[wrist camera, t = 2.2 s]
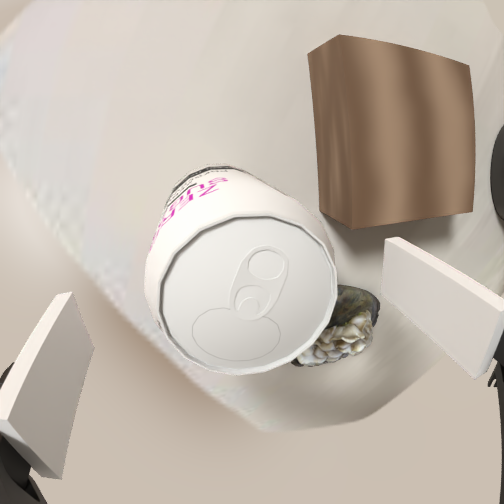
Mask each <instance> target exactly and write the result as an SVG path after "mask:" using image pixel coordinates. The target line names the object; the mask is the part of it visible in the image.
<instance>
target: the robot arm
mask: <svg viewBox="0 0 504 504" xmlns="http://www.w3.org/2000/svg"><path fill="white" fill-rule="evenodd" d="M491 187H492V195H493V200H494V204H495V207H496V210H497V212H498V214H499V216H500V217H501V218H502V219H503V220H504V126H503V127H502V128H501V130H500V132H499V134H498V136H497V139H496V142H495V146H494V150H493V156H492V165H491ZM380 294H381V295H382V296H383V297H384V298H385V299H386V300H388V301H389V302H390V303H391V304H392V305H393V306H395V307H396V308H397V309H398V310H399V311H400V312H401V313H402V314H404V315H405V316H406V317H407V318H408V319H409V320H410V321H412V322H413V323H414V324H415V325H416V326H417V327H418V328H419V329H420V330H422V331H423V332H424V333H425V334H426V335H427V336H428V337H429V338H430V339H431V340H433V341H434V342H435V343H436V344H437V345H438V346H439V347H440V348H441V349H442V350H443V351H444V352H446V353H447V354H448V355H449V356H450V357H451V358H452V359H453V360H454V361H456V363H457V364H458V365H459V366H460V367H461V368H463V370H465V371H466V372H467V373H468V374H469V375H470V376H471V377H472V378H473V379H474V380H475V379H476V378H478V377H479V376H481V375H482V374H484V373H485V372H487V370H488V368H489V366H490V363H491V361H492V359H493V358H494V359H495V360H497V361H498V362H497V365H496V367H495V369H494V371H493V373H492V376H491V377H490V379H489V381H488V387H490V386H491V384H492V382H493V380H494V379H496V383H495V384H494V387H497V389H498V398H499V406H500V419H501V438H502V475H501V492H500V504H504V299H503V298H502V297H500V296H499V295H497V294H496V293H494V292H492V291H491V290H489V289H488V288H486V287H485V286H483V285H482V284H480V283H478V282H477V281H475V280H473V279H472V278H470V277H468V276H467V275H465V274H463V273H462V272H460V271H458V270H457V269H455V268H453V267H452V266H450V265H448V264H447V263H445V262H443V261H441V260H440V259H438V258H436V257H434V256H433V255H431V254H429V253H427V252H426V251H424V250H422V249H420V248H418V247H417V246H415V245H413V244H411V243H409V242H407V241H406V240H404V239H402V238H400V237H393V238H388V239H385V246H384V260H383V272H382V282H381V291H380ZM93 351H94V346H93V343H92V341H91V339H90V336H89V334H88V332H87V329H86V326H85V324H84V321H83V319H82V317H81V314H80V311H79V308H78V306H77V303H76V300H75V297H74V294H73V292H68V293H62V294H57V295H56V297H55V298H54V299H53V301H52V302H51V304H50V305H49V307H48V309H47V310H46V311H45V313H44V314H43V316H42V318H41V319H40V321H39V323H38V324H37V325H36V327H35V329H34V330H33V332H32V334H31V335H30V337H29V339H28V340H27V342H26V344H25V345H24V347H23V349H22V351H21V353H20V354H19V356H18V357H17V359H16V361H15V362H13V363H12V364H11V365H10V366H9V367H8V368H7V369H6V370H5V371H4V373H3V375H2V376H1V378H0V504H47V502H46V500H45V499H44V497H43V495H42V494H41V492H40V490H39V488H38V486H37V484H36V483H35V481H34V480H33V478H32V477H31V476H30V475H29V472H30V468H31V467H32V468H33V469H34V470H35V471H36V472H37V473H38V474H39V475H40V476H41V477H47V478H53V479H62V474H63V469H64V463H65V458H66V452H67V448H68V443H69V439H70V434H71V430H72V426H73V422H74V417H75V413H76V409H77V406H78V402H79V398H80V394H81V391H82V387H83V384H84V380H85V377H86V374H87V370H88V367H89V364H90V360H91V357H92V354H93Z"/></svg>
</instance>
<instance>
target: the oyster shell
mask: <svg viewBox="0 0 504 504" xmlns="http://www.w3.org/2000/svg"><path fill="white" fill-rule="evenodd" d="M337 296H338V297H337V300H336V303H335V306H334V309H333V312H332V315H331V318H330V321H329V323H328V324H327V326H326V327H325V329H324V330H323V331H322V333H321V334H320V335H319V337H318V338H317V339H316V341H315V342H314V344H313V345H311V346H310V347H309V348H308V349H306V350H305V351H304V352H302V353H301V354H300V355H299V356H297V357H296V358H295V359H293V360H292V361H291V363H292V364H294V365H295V366H299V367H301V366H303V365H307V366H309V367H312V366H319V365H321V364H324V363H328V362H335V361H337V360H339V359H341V358H345V357H347V356H348V354H351V355H352V356H354V355H357V354H359V353H361V352H362V350H363V348H366V347H368V346H369V345H370V344H371V342H372V330H371V328H372V327H373V326H375V323H376V322H377V317H378V316H379V315H378V313H377V312H378V311H379V310H380V302H379V301H378V299H377V298H376V297H375V296H374V295H372V294H371V293H370V292H368V291H366V290H363V289H360V288H356V287H351V286H344V285H337Z"/></svg>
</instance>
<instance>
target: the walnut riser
mask: <svg viewBox="0 0 504 504" xmlns="http://www.w3.org/2000/svg"><path fill="white" fill-rule="evenodd" d="M308 62H309V71H310V80H311V89H312V99H313V110H314V122H315V135H316V149H317V165H318V184H319V209H320V211H321V212H323V213H325V214H326V215H328V216H330V217H332V218H333V219H335V220H337V221H338V222H340V223H342V224H343V225H345V226H347V227H348V228H350V229H352V230H353V229H360V228H366V227H373V226H380V225H386V224H393V223H400V222H407V221H413V220H420V219H427V218H434V217H441V216H448V215H455V214H461V213H468V212H473V200H474V185H475V119H474V104H473V93H472V84H471V76H470V68H469V65H466V64H463V63H460V62H458V61H455V60H452V59H449V58H445V57H442V56H439V55H436V54H432V53H429V52H425V51H421V50H418V49H414V48H410V47H406V46H401V45H397V44H392V43H388V42H383V41H377V40H372V39H366V38H360V37H353V36H346V35H337V36H336V37H334V38H332V39H331V40H329V41H327V42H326V43H324V44H322V45H321V46H319V47H318V48H316V49H314V50H313V51H311V52H310V53H308Z"/></svg>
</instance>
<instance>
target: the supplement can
mask: <svg viewBox="0 0 504 504" xmlns="http://www.w3.org/2000/svg"><path fill="white" fill-rule="evenodd" d="M144 294H145V297H146V300H147V303H148V306H149V308H150V311H151V314H152V316H153V319H154V322H155V323H156V324H157V326H158V327H159V328H160V329H161V330H162V331H163V332H164V334H165V337H166V339H167V340H168V341H169V342H170V343H171V344H172V346H173V347H174V348H175V349H176V350H177V351H178V352H179V353H180V354H181V355H182V356H183V357H184V358H185V359H186V360H188V361H190V362H192V363H194V364H196V365H198V366H200V367H202V368H204V369H206V370H208V371H212V372H218V373H224V374H230V375H246V374H254V373H262V372H266V371H269V370H271V369H274V368H276V367H279V366H281V365H283V364H286V363H288V362H291V361H292V360H293V359H295V358H296V357H297V356H299V355H300V354H301V353H302V352H304V351H305V350H306V349H308V348H309V347H310V346H311V345H313V344H314V342H315V341H316V339H317V338H318V337H319V335H320V334H321V333H322V331H323V330H324V329H325V327H326V326H327V324H328V323H329V321H330V318H331V315H332V312H333V309H334V306H335V303H336V300H337V297H338V296H337V271H336V267H335V259H334V249H333V247H332V244H331V242H330V240H329V238H328V236H327V234H326V231H325V229H324V227H323V225H322V223H321V222H320V221H319V220H318V219H317V218H316V217H315V216H314V215H313V214H312V213H311V212H310V211H308V210H307V209H306V208H305V207H304V206H303V205H302V204H301V203H300V202H298V201H297V200H296V199H294V198H292V197H291V196H289V195H287V194H285V193H284V192H282V191H280V190H278V189H277V188H275V187H273V186H271V185H270V184H268V183H266V182H264V181H262V180H261V179H259V178H257V177H255V176H253V175H251V174H250V173H248V172H246V171H244V170H242V169H239V168H236V167H233V166H230V165H228V164H206V165H204V166H201V167H199V168H196V169H194V170H191V171H189V172H188V173H187V174H186V175H185V176H184V177H183V178H181V179H180V180H179V181H178V182H177V183H176V184H175V186H174V188H173V190H172V192H171V194H170V195H169V197H168V199H167V202H166V204H165V207H164V210H163V213H162V215H161V218H160V221H159V224H158V227H157V230H156V232H155V235H154V238H153V241H152V244H151V247H150V250H149V253H148V256H147V259H146V269H145V290H144Z"/></svg>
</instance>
